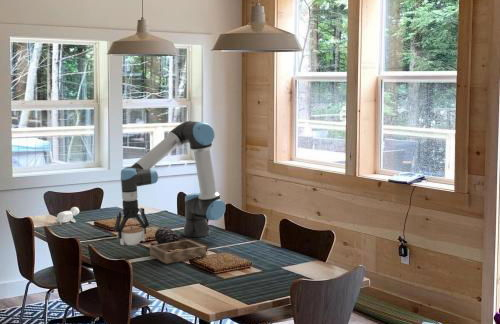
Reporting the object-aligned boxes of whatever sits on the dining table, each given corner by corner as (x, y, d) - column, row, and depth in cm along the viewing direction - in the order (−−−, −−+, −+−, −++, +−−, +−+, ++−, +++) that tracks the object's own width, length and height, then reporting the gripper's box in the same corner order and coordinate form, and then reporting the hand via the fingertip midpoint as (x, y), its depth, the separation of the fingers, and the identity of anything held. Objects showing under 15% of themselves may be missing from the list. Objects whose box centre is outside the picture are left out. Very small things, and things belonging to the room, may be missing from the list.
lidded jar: (133, 239, 373) (132, 221, 372) (148, 242, 366) (146, 224, 365) (117, 244, 365) (116, 226, 363) (131, 247, 358) (130, 229, 357)
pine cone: (169, 251, 373) (169, 232, 371) (151, 244, 386) (150, 226, 385) (186, 247, 379) (186, 229, 378) (168, 241, 393) (167, 223, 391)
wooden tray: (188, 248, 377) (188, 239, 376) (206, 256, 362) (205, 246, 361) (150, 255, 365) (149, 245, 364) (166, 263, 350) (166, 253, 349)
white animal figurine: (64, 229, 438) (84, 216, 447) (58, 217, 435) (79, 205, 444) (57, 227, 445) (77, 214, 453) (52, 215, 442) (72, 203, 450)
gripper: (111, 204, 353) (114, 248, 356) (154, 197, 365) (156, 240, 369) (105, 201, 359) (108, 245, 362) (148, 195, 371) (150, 237, 375)
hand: (132, 242), depth 365 cm, fingers closed on lidded jar, 11 cm apart
